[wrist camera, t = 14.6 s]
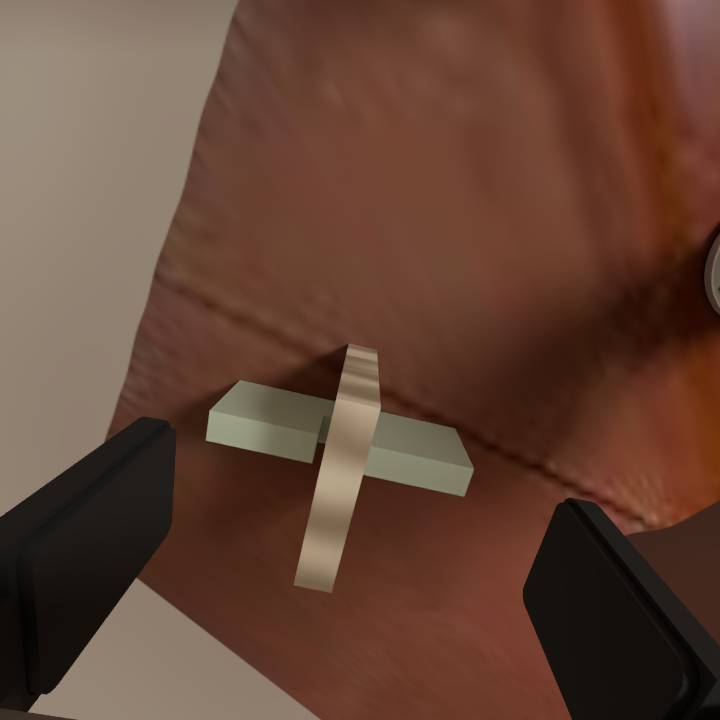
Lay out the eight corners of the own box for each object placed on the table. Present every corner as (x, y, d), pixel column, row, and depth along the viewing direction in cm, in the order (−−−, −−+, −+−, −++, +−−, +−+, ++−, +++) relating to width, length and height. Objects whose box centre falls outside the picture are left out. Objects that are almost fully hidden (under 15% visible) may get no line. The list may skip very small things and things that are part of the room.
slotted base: (455, 428, 41) (474, 469, 34) (447, 451, 42) (464, 496, 35) (240, 379, 41) (209, 410, 33) (236, 405, 41) (205, 440, 34)
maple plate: (348, 343, 39) (336, 398, 25) (377, 350, 39) (380, 408, 25) (319, 474, 44) (293, 585, 29) (344, 479, 44) (331, 592, 29)
